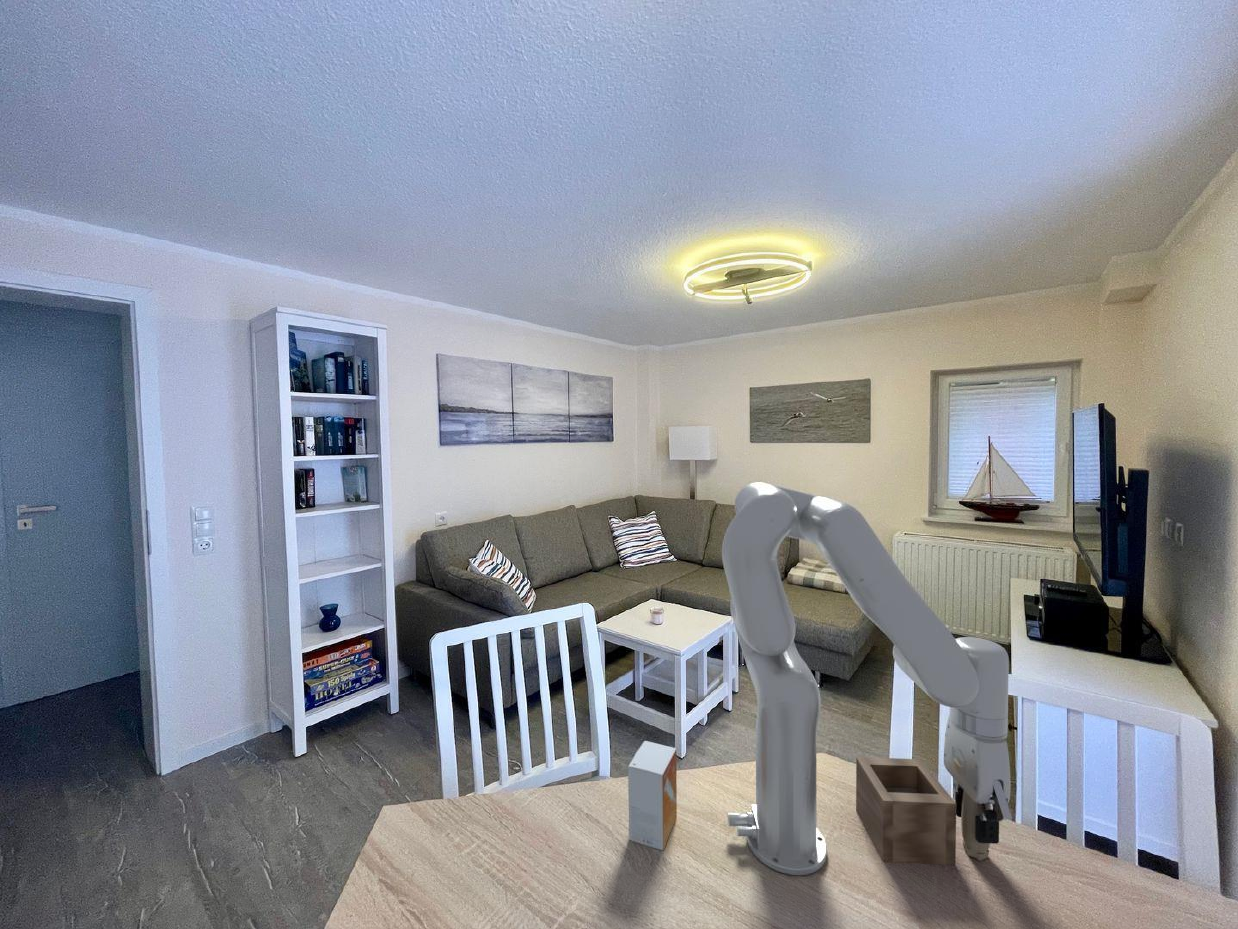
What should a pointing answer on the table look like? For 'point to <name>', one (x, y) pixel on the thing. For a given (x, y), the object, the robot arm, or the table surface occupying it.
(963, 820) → the handle
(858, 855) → the table surface
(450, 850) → the table surface
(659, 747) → the small box
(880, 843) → the sleeve
